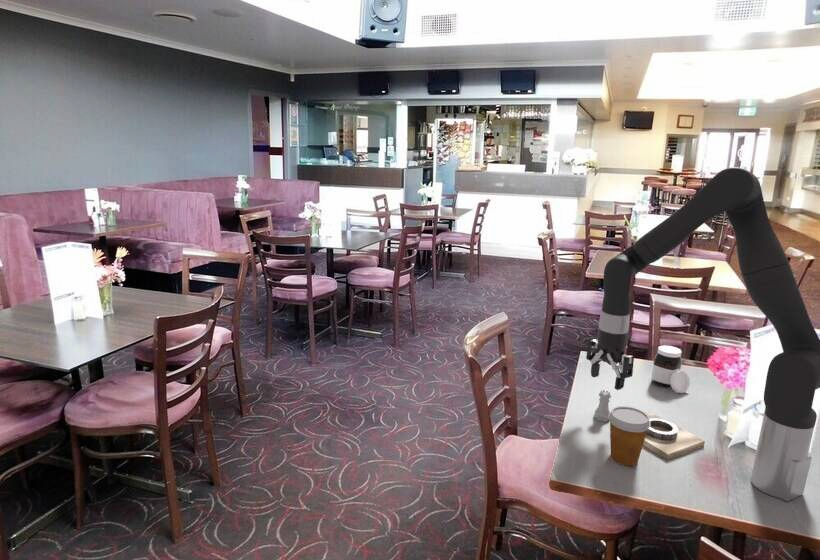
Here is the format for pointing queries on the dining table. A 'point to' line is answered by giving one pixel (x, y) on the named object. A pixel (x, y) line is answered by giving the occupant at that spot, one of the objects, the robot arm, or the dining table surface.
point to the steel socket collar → (662, 435)
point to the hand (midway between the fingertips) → (606, 382)
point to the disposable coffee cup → (627, 434)
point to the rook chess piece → (603, 407)
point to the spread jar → (670, 369)
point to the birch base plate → (672, 442)
